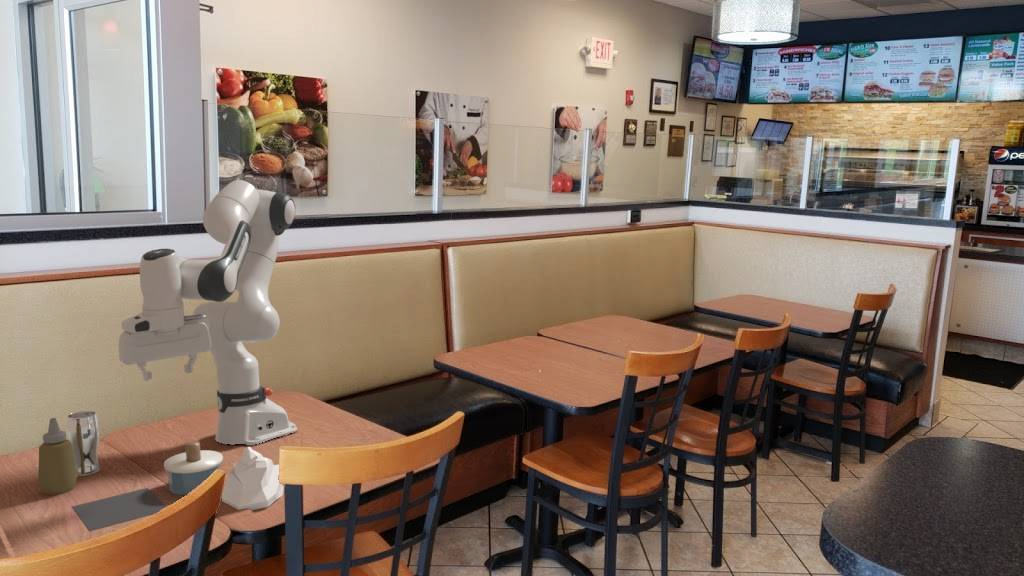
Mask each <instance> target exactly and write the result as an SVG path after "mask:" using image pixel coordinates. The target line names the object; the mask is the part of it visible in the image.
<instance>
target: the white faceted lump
mask: <svg viewBox="0 0 1024 576" xmlns="http://www.w3.org/2000/svg"><path fill="white" fill-rule="evenodd" d="M278 475H279V464H274V462H273V460H272V459H271V458H268V457H264V456H263V455H262V454H261V453H260V452H258V451H256V450H253V449H252V447H251V446H247V447H245V448H244V451H243V453H242V454H241V457H240V460H238V461H236V462H235V463H234V464H233V469H232V470H231V471H230V475H229V476H227V480H226V483H225V485H224V487H223V491H222V493H223V494H222V493H221V495H222V501H221V502H222V503H225V504H227V505H229V506H231V507H232V508H234V509H236V510H238V511H240V510H241V511H242V510H246V509H248V510H250V511H257V510H260V509H265V508H269V507H270V506H271V505H273V503H275V502H276V501H277V500H278V499H279V498H280V497H283V495H284V488H285V485H284V486H283V485H282V484H280V483H279V480H278Z"/></svg>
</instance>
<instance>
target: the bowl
mask: <svg viewBox="0 0 1024 576" xmlns="http://www.w3.org/2000/svg"><path fill="white" fill-rule="evenodd" d="M216 469H220V464H219V465H218V466H216V467H214V468H211V469H209V470H205V471H201V472H195V473H172V472H168V471H167V472H168V473H167V479H168V491H170V492H171V493H172V494H174V495H178V496H187V495H186V494H188V493H189V492H191V491H192V490H193V489H195V488H196V487H197V486H198V485H200V484H201V483H202V482H203V481H204V480H206V479H207V478H208V477H209V476H210V475H211V474H212V473H213V472H214V471H215V470H216ZM220 470H221V469H220Z"/></svg>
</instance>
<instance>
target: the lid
mask: <svg viewBox="0 0 1024 576" xmlns="http://www.w3.org/2000/svg"><path fill="white" fill-rule="evenodd" d="M184 446H185V452H180V453H178V454H175V455H173V456H170V457H168V458H167V459H165V461H164V462H163V468H164V470H165V472H172V473H195V472H201V471H205V470H209V469H211V468H214V467H216V466H218V465H220V464H222V463H223V461H224V456H223V453H221V452H219V451H216V450H209V449H208V450H207V449H206V450H205V449H204V450H203V449H202V450H201V442H200V441H196V440H195V441H188V442H186V443H185V445H184Z"/></svg>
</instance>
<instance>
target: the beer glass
mask: <svg viewBox="0 0 1024 576" xmlns="http://www.w3.org/2000/svg"><path fill="white" fill-rule="evenodd" d="M66 436H67V440H69V441H70V442H71V445H72V449H73V454H74V459H75V464H76V469H77V474H78V475H77V477H87V476H92V475H95V474H97V473H98V472H99V471H101V467H100V464H99V458H98V449H99V448H98V447H99V441H100V439H99V438H100V426H99V421H98V414H97V411H95V410H82V411H81V410H80V411H76V412H72V413H69V414H67V416H66Z"/></svg>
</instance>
